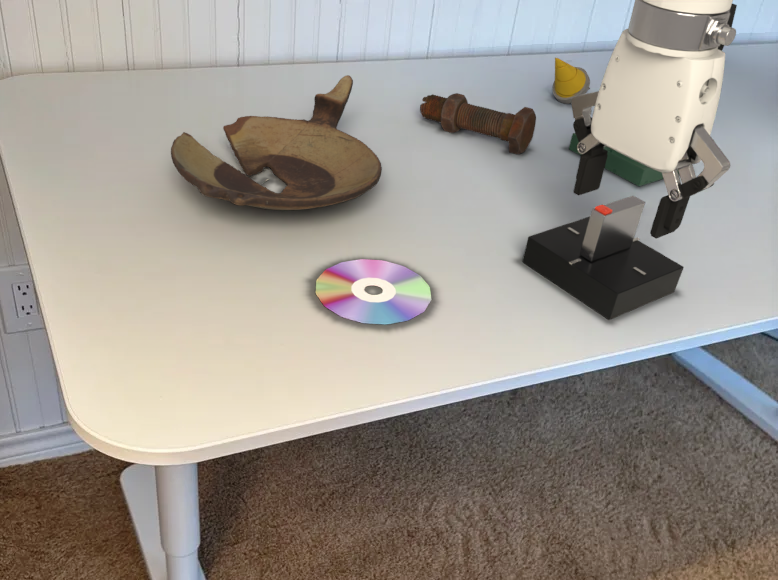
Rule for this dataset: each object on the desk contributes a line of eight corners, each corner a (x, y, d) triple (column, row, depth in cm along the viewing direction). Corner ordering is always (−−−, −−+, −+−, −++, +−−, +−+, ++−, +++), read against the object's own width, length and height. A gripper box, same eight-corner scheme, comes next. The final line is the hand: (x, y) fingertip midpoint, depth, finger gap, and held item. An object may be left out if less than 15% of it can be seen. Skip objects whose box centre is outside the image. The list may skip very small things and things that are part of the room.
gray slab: (619, 240, 85) (633, 193, 81) (630, 247, 84) (646, 199, 80) (579, 254, 82) (592, 206, 78) (591, 262, 81) (605, 213, 77)
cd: (360, 247, 85) (360, 247, 85) (453, 288, 80) (453, 287, 80) (290, 292, 78) (290, 291, 78) (388, 339, 73) (389, 339, 73)
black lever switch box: (675, 292, 84) (685, 265, 82) (608, 320, 79) (617, 292, 77) (587, 239, 91) (595, 212, 89) (521, 262, 86) (527, 235, 84)
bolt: (424, 131, 114) (525, 159, 108) (410, 122, 109) (515, 151, 104) (437, 88, 112) (540, 114, 107) (424, 77, 108) (531, 104, 102)
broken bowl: (126, 187, 91) (118, 119, 86) (321, 123, 108) (324, 63, 103) (262, 272, 80) (262, 199, 75) (454, 185, 98) (464, 122, 93)
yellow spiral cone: (594, 110, 122) (572, 70, 113) (559, 117, 124) (535, 78, 116) (597, 78, 123) (575, 36, 115) (562, 86, 126) (539, 45, 117)
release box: (688, 170, 107) (699, 141, 104) (639, 186, 102) (648, 155, 99) (618, 136, 114) (626, 107, 111) (568, 149, 109) (575, 119, 106)
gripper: (793, 50, 66) (720, 241, 77) (626, -8, 76) (583, 168, 87) (737, 64, 62) (669, 263, 73) (569, 2, 72) (532, 184, 83)
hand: (622, 211), depth 80 cm, fingers open, 9 cm apart
